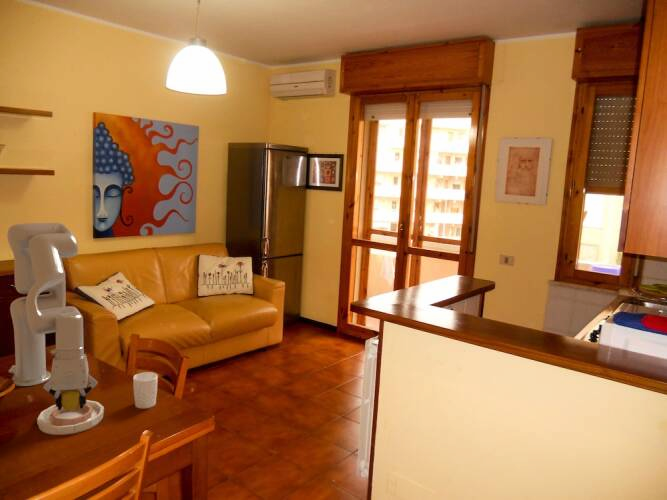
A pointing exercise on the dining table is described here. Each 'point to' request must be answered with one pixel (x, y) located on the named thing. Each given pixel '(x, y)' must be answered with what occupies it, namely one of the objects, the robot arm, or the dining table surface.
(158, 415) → the dining table surface
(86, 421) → the fruit dish
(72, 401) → the lemon
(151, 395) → the white cup
